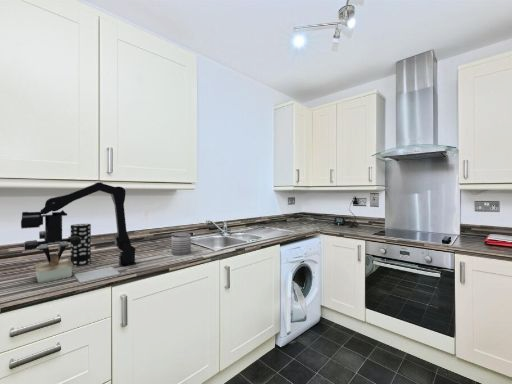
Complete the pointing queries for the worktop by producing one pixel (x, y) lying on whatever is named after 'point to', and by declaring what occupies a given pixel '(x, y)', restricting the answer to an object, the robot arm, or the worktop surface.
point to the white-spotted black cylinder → (81, 245)
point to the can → (181, 244)
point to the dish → (54, 274)
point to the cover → (53, 264)
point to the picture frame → (96, 274)
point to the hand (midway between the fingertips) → (53, 262)
